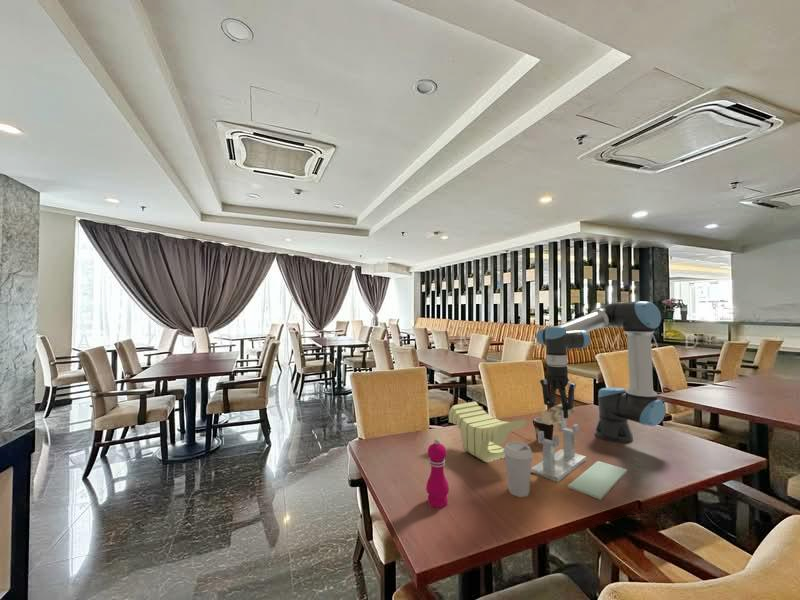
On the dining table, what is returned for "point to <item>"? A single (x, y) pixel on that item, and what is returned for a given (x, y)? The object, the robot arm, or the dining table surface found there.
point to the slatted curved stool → (481, 430)
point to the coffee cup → (518, 468)
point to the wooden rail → (554, 414)
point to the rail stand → (558, 455)
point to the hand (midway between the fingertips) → (559, 424)
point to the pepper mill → (437, 476)
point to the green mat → (598, 479)
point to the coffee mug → (543, 429)
